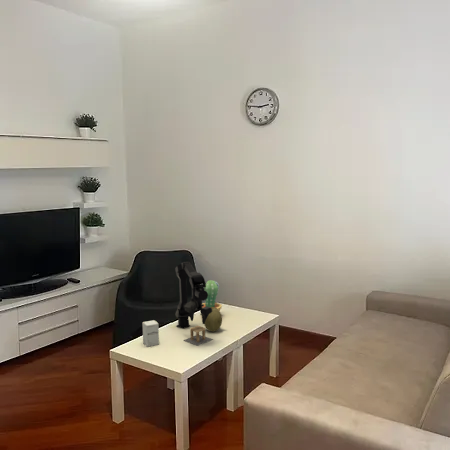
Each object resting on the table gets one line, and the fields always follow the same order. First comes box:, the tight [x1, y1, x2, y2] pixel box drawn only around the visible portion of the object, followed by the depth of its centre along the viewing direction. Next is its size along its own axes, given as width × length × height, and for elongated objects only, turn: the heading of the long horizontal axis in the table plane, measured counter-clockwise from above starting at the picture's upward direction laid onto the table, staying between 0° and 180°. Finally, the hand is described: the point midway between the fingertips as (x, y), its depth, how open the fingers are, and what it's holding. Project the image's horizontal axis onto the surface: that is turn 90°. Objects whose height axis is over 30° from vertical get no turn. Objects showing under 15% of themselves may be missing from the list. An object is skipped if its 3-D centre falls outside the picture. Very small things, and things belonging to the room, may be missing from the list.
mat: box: [183, 334, 214, 347], centre depth 275 cm, size 12×12×1 cm
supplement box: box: [142, 319, 160, 348], centre depth 270 cm, size 7×7×13 cm
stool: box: [189, 325, 206, 342], centre depth 275 cm, size 6×6×7 cm
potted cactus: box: [202, 279, 223, 312], centre depth 315 cm, size 16×15×25 cm
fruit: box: [203, 307, 223, 332], centre depth 290 cm, size 11×11×15 cm
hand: (197, 322), depth 274 cm, fingers open, 9 cm apart
